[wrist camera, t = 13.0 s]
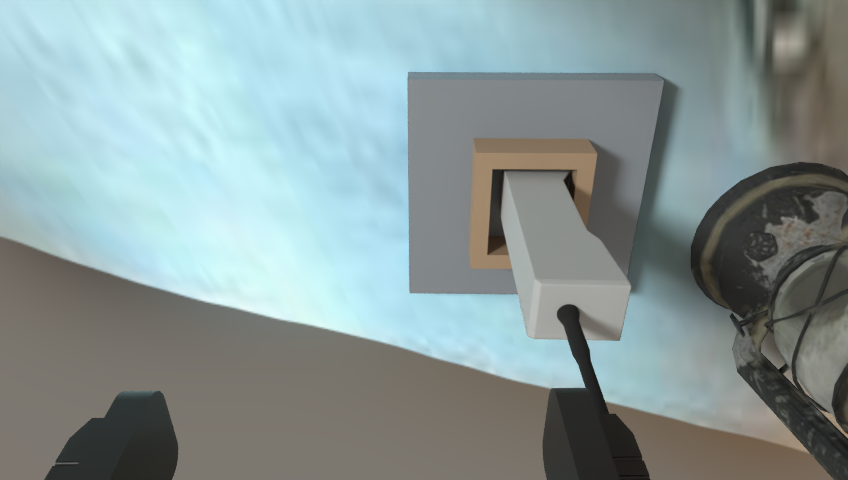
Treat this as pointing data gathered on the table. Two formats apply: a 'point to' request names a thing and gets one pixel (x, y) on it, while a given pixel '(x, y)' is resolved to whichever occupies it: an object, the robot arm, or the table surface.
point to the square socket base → (519, 164)
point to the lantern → (786, 294)
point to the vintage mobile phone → (561, 268)
